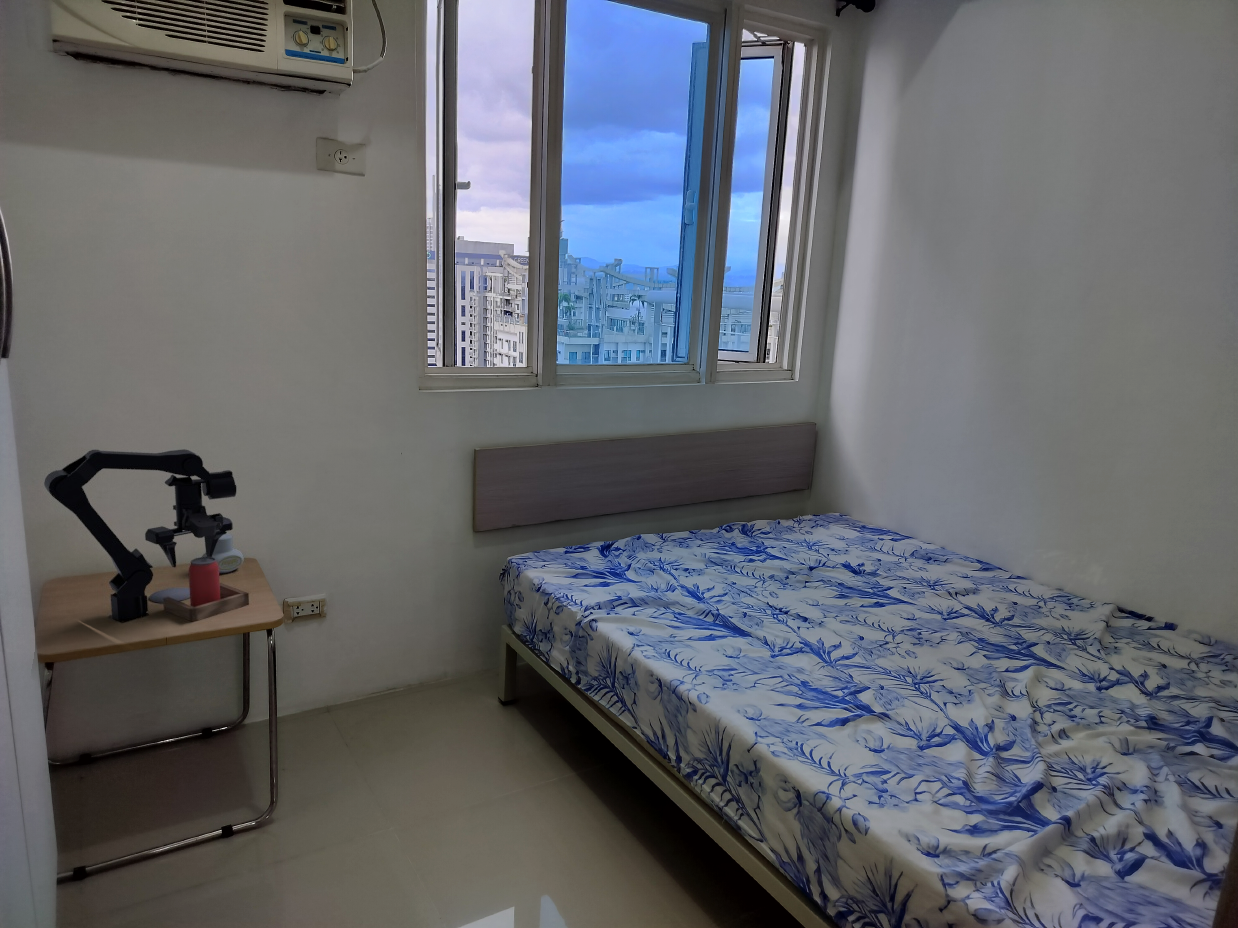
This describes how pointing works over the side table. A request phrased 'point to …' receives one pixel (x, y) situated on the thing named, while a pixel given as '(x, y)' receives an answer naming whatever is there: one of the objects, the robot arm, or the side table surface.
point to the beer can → (204, 581)
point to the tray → (209, 604)
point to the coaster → (171, 594)
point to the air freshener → (227, 554)
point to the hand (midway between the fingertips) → (191, 563)
